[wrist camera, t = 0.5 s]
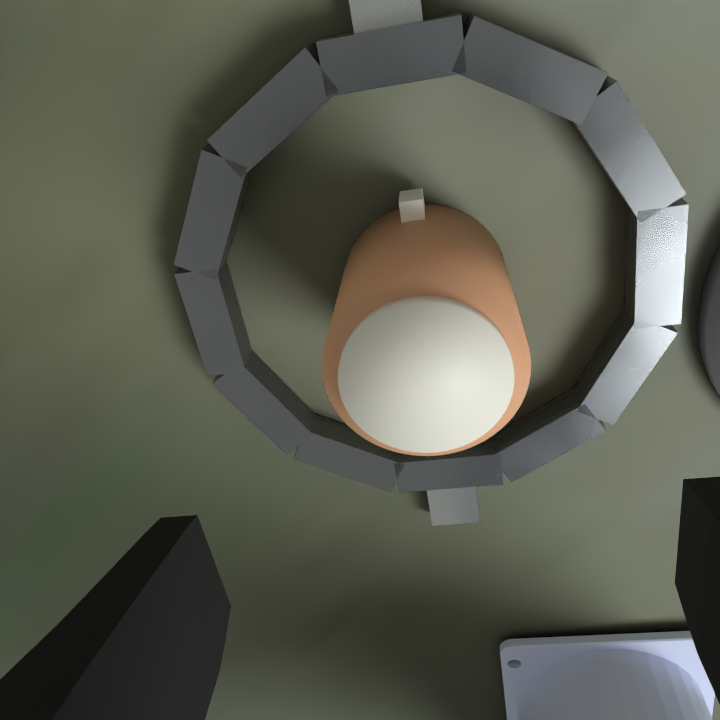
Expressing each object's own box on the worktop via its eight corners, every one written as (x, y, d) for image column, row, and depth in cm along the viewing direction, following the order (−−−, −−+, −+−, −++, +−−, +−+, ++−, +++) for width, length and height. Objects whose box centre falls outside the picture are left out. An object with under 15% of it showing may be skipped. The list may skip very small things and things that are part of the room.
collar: (658, 496, 22) (668, 518, 22) (268, 525, 24) (262, 546, 24) (693, -135, 14) (711, -142, 13) (99, -11, 16) (81, -10, 15)
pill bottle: (512, 358, 20) (539, 474, 16) (361, 375, 21) (344, 490, 16) (499, 173, 18) (526, 246, 13) (326, 199, 18) (294, 277, 14)
